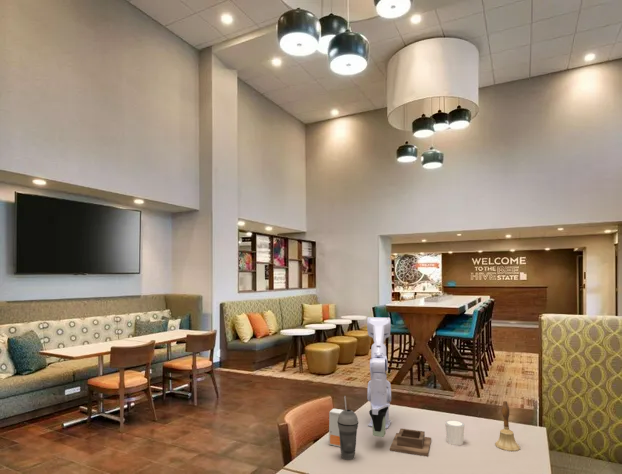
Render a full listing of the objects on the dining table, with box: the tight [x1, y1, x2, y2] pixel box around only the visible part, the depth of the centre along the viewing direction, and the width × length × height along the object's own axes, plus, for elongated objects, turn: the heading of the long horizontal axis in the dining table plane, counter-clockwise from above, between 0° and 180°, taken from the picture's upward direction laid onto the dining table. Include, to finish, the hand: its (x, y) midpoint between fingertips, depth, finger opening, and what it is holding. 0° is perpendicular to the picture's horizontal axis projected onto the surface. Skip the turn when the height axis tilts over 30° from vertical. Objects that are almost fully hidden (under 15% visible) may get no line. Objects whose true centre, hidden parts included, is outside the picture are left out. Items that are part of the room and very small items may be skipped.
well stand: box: [389, 428, 432, 457], centre depth 153 cm, size 15×13×4 cm
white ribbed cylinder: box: [444, 419, 465, 446], centre depth 156 cm, size 7×7×7 cm
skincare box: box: [328, 408, 344, 448], centre depth 154 cm, size 6×4×12 cm
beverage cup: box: [337, 395, 359, 461], centre depth 144 cm, size 7×7×20 cm
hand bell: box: [494, 400, 521, 452], centre depth 153 cm, size 8×8×16 cm
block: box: [372, 417, 387, 438], centre depth 154 cm, size 4×4×6 cm
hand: (379, 428), depth 154 cm, fingers closed on block, 4 cm apart
